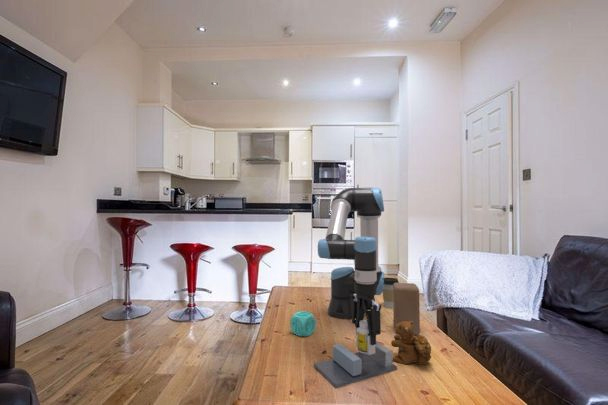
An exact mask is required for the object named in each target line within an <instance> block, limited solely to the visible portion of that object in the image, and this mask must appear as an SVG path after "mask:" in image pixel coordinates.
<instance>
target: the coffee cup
mask: <svg viewBox="0 0 608 405" xmlns="http://www.w3.org/2000/svg"><path fill="white" fill-rule="evenodd" d="M394 283H400V281H399V279H398V278H395V277H384V285H383V291H382V299H383V307H384V308H387V309H393V284H394Z"/></svg>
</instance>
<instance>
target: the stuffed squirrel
mask: <svg viewBox="0 0 608 405" xmlns="http://www.w3.org/2000/svg"><path fill="white" fill-rule="evenodd" d="M412 324H413V322H412V321H409V322H407V321H404V322H400V323H398V324H397V325H396V328H394V336H393V340H392V341H391V342H390V343H391V346H392V347H394V348H398V349H397V354H398V355H394V356H393V362H395V363H398V364H402V365H403V364H404V365H410V364H414V363H416V364H417V365H425V364H427V363H429V362H431V358H432V355H431V353H432V347H431V344H430V342H429V341H428V339H427V338H426V337H425V335H421V334H419V335H414V334H413V327H412ZM396 332H397V333H396Z"/></svg>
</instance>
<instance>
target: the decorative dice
mask: <svg viewBox="0 0 608 405" xmlns="http://www.w3.org/2000/svg"><path fill="white" fill-rule="evenodd" d="M289 321H290V323H289V324H290V328H291V332H292V333H293V334H294V335H295V334H296V335H295V336H297V335H298V337H302V336H304V337H309V336H311V335H312V334H313V333H314V331H315V329H316V324H317V322H316V318H315V317H314V315H313V314H312V313H311V312H310V311H303V310H302V311H297V312H294V313H293V315H291V319H290V320H289Z"/></svg>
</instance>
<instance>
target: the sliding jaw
mask: <svg viewBox="0 0 608 405" xmlns="http://www.w3.org/2000/svg"><path fill="white" fill-rule="evenodd" d="M354 353H355V352H352V351H351V350H349V348H347V347H345V346H344V345H343V344H341V343H339V344H335V345H332V359H333V360H334V361H336V362H337V363H338V364H339V365H340V366H341V367H343V368H344V369H345V370H346V371H347V372H349V373H350V374H351V375H352V376H356V375H360V374H361V359H360V358H359V357H358V356H356V355H355V354H354Z"/></svg>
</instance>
